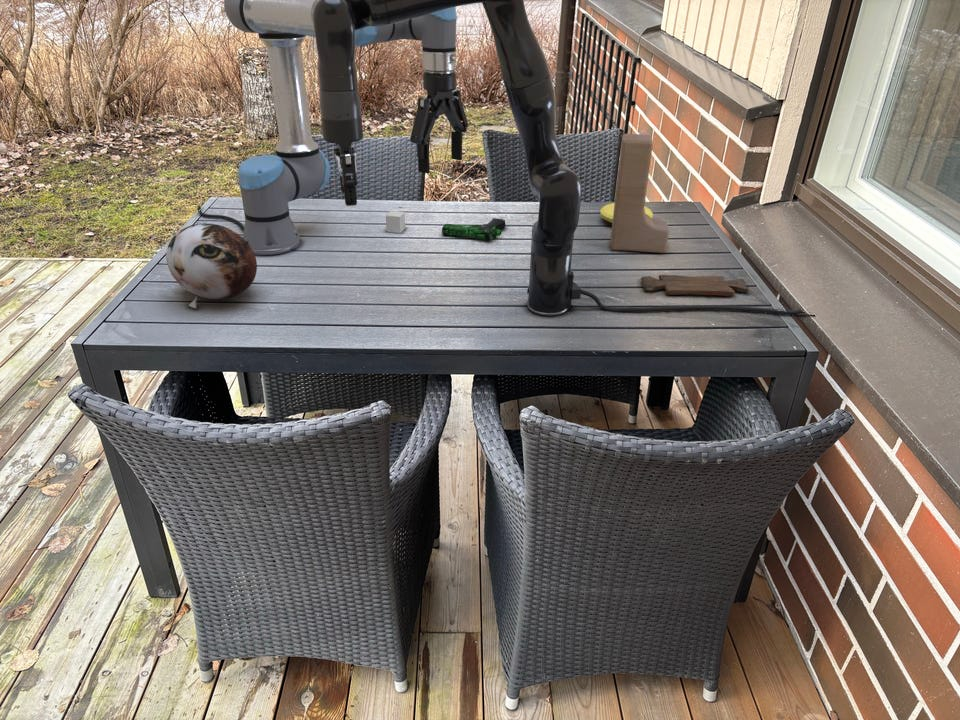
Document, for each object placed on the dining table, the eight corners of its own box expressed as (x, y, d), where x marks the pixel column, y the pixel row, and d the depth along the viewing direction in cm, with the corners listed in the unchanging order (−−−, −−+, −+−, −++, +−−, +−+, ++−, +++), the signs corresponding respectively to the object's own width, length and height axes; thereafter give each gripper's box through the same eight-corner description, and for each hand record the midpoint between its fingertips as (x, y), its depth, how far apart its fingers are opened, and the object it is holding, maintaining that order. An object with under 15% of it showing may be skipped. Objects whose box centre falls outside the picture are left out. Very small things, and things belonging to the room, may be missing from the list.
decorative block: (666, 254, 195) (683, 142, 180) (610, 250, 197) (623, 139, 181) (663, 244, 201) (680, 135, 186) (610, 240, 203) (622, 132, 188)
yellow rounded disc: (613, 210, 226) (616, 188, 222) (660, 220, 218) (663, 198, 214) (589, 223, 215) (592, 200, 211) (638, 235, 207) (641, 211, 203)
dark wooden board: (752, 298, 172) (740, 281, 181) (754, 292, 171) (742, 275, 180) (645, 295, 172) (638, 278, 181) (646, 288, 172) (639, 271, 180)
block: (386, 231, 207) (385, 215, 205) (391, 226, 211) (390, 210, 208) (400, 233, 206) (399, 216, 204) (405, 228, 210) (404, 212, 207)
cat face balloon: (130, 285, 161) (164, 203, 163) (192, 308, 177) (221, 233, 178) (195, 307, 151) (229, 220, 152) (254, 330, 166) (285, 250, 168)
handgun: (511, 219, 210) (493, 234, 198) (511, 228, 211) (492, 244, 199) (461, 212, 215) (440, 226, 203) (461, 221, 217) (440, 236, 204)
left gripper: (419, 80, 150) (422, 180, 160) (483, 65, 168) (481, 156, 179) (391, 77, 153) (396, 175, 164) (456, 62, 171) (457, 152, 182)
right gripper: (366, 121, 128) (372, 208, 137) (357, 105, 140) (363, 186, 149) (323, 123, 127) (332, 211, 135) (318, 107, 139) (327, 189, 147)
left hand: (440, 165), depth 171 cm, fingers open, 13 cm apart
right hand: (348, 198), depth 142 cm, fingers open, 8 cm apart
